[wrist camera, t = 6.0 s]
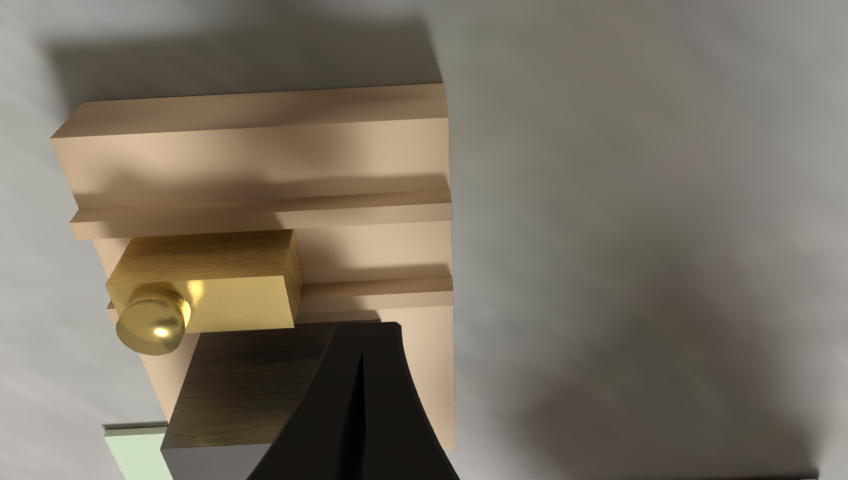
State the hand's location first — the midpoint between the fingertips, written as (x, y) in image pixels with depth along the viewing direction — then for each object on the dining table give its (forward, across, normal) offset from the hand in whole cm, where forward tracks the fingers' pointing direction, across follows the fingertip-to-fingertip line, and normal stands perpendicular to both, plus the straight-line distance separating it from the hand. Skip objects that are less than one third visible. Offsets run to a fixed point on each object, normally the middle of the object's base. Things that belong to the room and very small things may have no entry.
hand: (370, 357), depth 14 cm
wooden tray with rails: (+6, +3, +2) cm, 7 cm away
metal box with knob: (+4, +3, +5) cm, 7 cm away
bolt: (+4, +4, 0) cm, 6 cm away
